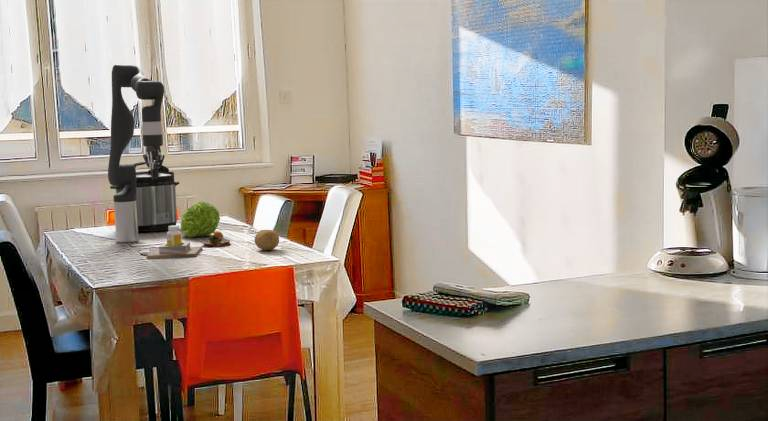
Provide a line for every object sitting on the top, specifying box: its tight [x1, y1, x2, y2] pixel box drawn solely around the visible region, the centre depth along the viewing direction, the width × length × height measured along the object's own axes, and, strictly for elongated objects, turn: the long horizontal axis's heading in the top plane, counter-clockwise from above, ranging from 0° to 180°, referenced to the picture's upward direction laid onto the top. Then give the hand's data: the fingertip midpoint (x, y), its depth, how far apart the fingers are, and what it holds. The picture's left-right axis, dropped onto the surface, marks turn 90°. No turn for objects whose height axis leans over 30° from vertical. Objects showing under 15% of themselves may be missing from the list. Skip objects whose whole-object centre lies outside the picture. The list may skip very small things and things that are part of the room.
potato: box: [254, 229, 280, 251], centre depth 349 cm, size 10×14×8 cm
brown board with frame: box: [146, 241, 203, 260], centre depth 346 cm, size 18×18×4 cm
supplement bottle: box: [166, 224, 182, 246], centre depth 345 cm, size 5×5×10 cm
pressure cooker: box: [109, 161, 180, 232], centre depth 420 cm, size 30×28×32 cm
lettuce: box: [180, 201, 221, 238], centre depth 395 cm, size 15×25×16 cm
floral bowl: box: [201, 230, 231, 248], centre depth 366 cm, size 12×12×8 cm
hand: (154, 178), depth 347 cm, fingers closed
